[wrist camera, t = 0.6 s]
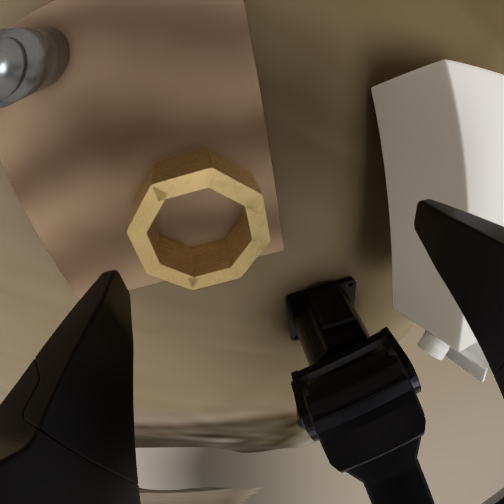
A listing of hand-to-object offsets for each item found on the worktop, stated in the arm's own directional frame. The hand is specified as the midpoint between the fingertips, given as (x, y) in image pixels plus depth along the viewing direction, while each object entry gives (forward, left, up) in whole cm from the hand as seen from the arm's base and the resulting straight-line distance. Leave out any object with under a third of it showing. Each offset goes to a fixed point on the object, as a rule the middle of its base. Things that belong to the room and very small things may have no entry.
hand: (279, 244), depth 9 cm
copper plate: (+1, +6, -12) cm, 13 cm away
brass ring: (-4, +3, -11) cm, 12 cm away
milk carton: (+3, -13, -8) cm, 16 cm away
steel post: (+8, +9, -12) cm, 16 cm away
